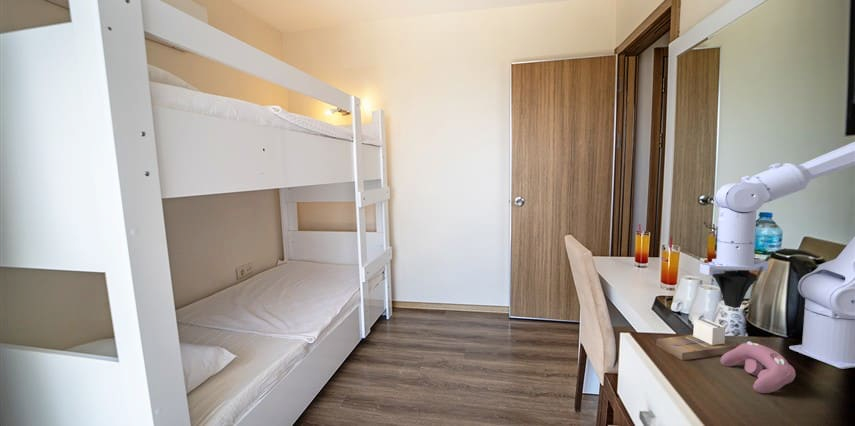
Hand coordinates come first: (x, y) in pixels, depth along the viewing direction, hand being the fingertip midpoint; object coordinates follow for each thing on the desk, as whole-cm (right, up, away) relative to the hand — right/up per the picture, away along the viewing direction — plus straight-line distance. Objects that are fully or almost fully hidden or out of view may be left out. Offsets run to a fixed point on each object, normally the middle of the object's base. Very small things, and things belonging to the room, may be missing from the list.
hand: (732, 306), depth 71 cm
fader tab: (-5, -7, 0) cm, 9 cm away
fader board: (-8, -9, -1) cm, 12 cm away
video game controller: (-6, -10, -11) cm, 16 cm away
